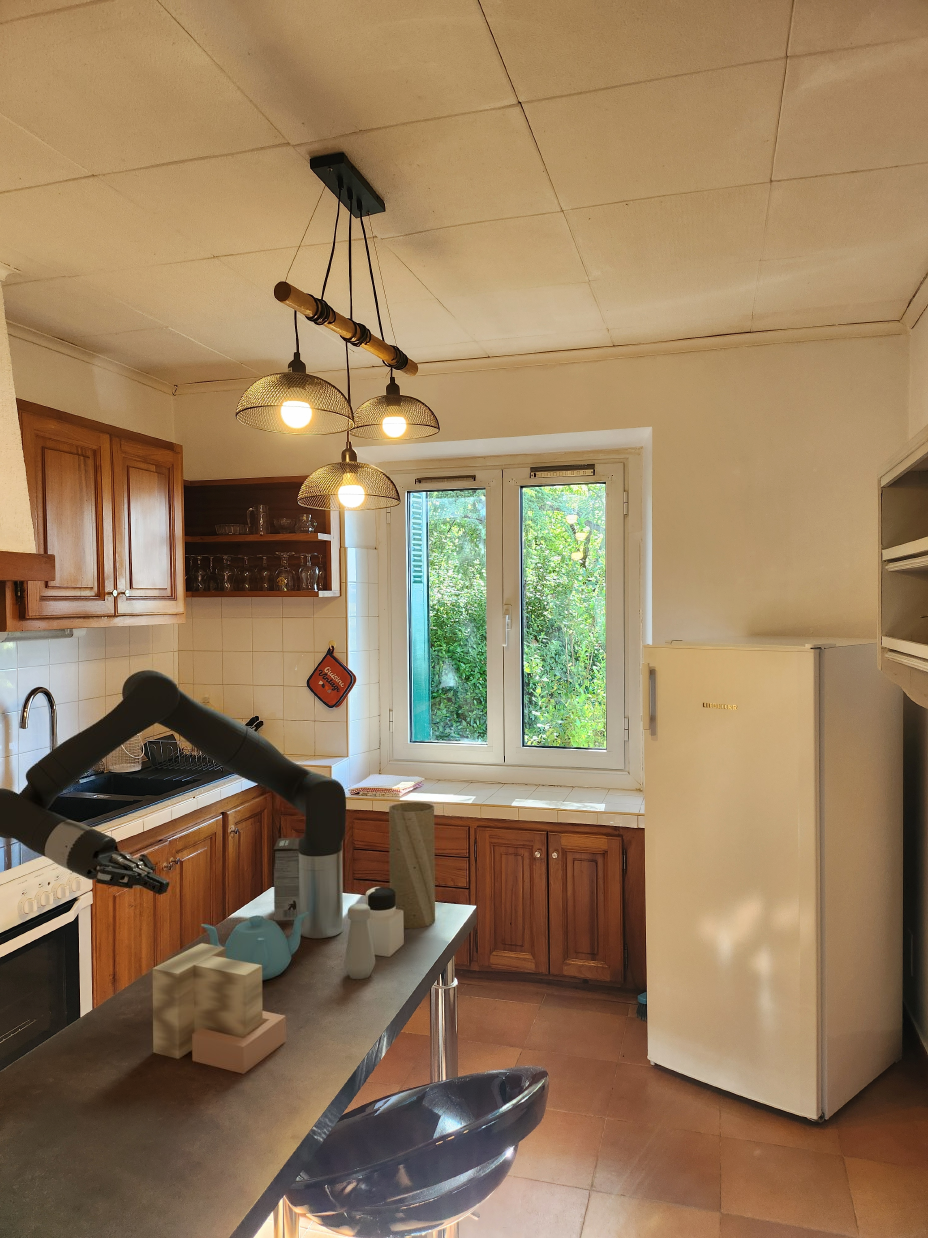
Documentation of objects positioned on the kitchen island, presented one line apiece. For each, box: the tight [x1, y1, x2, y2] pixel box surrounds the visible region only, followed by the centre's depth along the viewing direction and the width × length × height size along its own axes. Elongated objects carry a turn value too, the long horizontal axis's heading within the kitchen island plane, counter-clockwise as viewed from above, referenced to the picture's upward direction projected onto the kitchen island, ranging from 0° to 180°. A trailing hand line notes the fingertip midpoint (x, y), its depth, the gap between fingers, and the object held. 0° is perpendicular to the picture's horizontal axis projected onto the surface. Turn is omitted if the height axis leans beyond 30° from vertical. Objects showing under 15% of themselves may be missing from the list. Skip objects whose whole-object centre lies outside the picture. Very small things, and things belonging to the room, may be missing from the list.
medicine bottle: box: [365, 886, 405, 958], centre depth 171 cm, size 7×7×12 cm
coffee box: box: [273, 837, 301, 921], centre depth 192 cm, size 9×6×16 cm
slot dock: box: [191, 1010, 287, 1074], centre depth 131 cm, size 10×10×4 cm
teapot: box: [200, 912, 309, 981], centre depth 161 cm, size 15×15×10 cm
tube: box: [388, 801, 436, 929], centre depth 187 cm, size 10×10×25 cm
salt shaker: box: [344, 903, 376, 980], centre depth 158 cm, size 6×6×13 cm
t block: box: [152, 942, 263, 1060], centre depth 133 cm, size 15×11×13 cm
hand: (165, 888), depth 141 cm, fingers closed
